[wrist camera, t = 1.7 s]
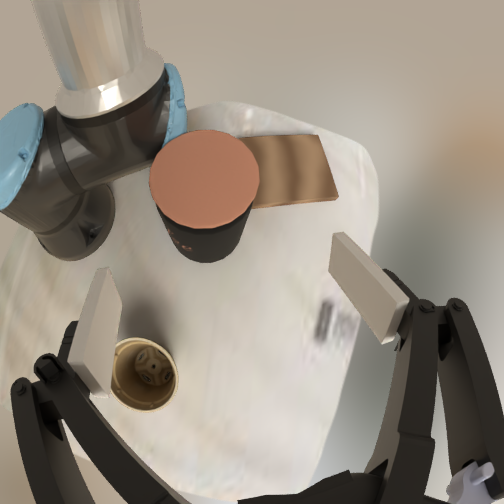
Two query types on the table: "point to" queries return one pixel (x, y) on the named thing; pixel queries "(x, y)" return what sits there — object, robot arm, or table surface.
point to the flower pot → (131, 375)
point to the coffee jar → (204, 192)
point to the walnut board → (291, 170)
